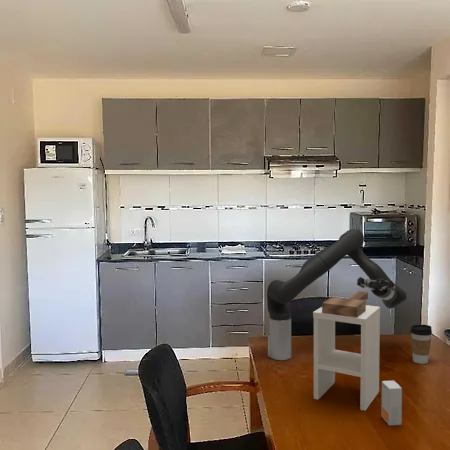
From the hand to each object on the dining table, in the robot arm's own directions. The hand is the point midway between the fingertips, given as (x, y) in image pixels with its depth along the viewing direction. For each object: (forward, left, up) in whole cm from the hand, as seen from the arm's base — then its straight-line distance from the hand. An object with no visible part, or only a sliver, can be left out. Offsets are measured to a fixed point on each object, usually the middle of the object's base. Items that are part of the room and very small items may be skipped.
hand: (370, 280), depth 193 cm
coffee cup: (+16, +19, -36) cm, 44 cm away
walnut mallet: (0, -23, -5) cm, 23 cm away
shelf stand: (0, -28, -36) cm, 46 cm away
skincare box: (+18, -39, -37) cm, 56 cm away
